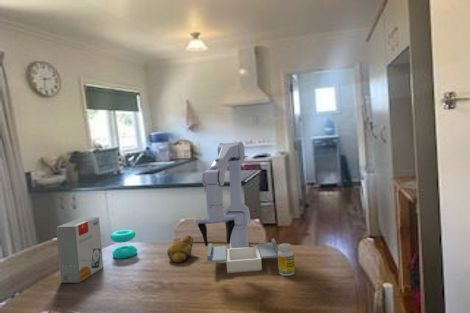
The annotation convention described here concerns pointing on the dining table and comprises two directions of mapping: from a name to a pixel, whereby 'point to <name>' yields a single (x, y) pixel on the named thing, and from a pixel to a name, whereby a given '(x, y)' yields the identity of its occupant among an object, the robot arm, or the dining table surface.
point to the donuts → (123, 250)
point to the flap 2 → (268, 249)
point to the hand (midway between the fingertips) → (217, 244)
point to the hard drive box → (79, 249)
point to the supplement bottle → (286, 260)
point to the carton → (243, 259)
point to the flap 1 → (216, 253)
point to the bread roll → (180, 249)
